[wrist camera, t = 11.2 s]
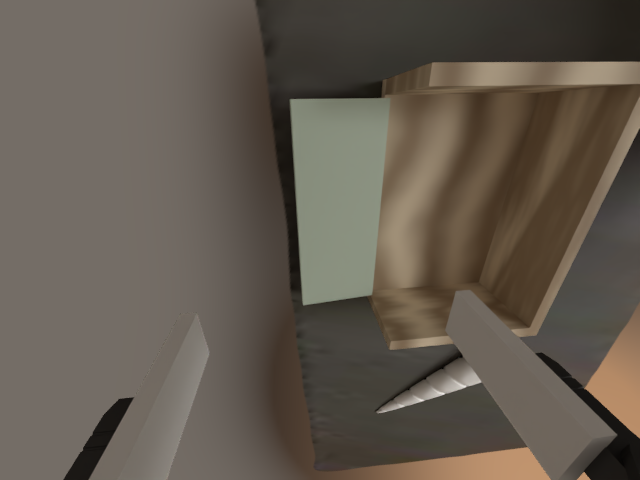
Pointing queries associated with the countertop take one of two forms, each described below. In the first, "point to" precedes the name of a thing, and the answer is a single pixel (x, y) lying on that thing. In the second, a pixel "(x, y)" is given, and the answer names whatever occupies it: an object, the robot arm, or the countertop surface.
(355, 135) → the pale green panel
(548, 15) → the countertop surface
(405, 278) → the box
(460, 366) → the unicorn horn
